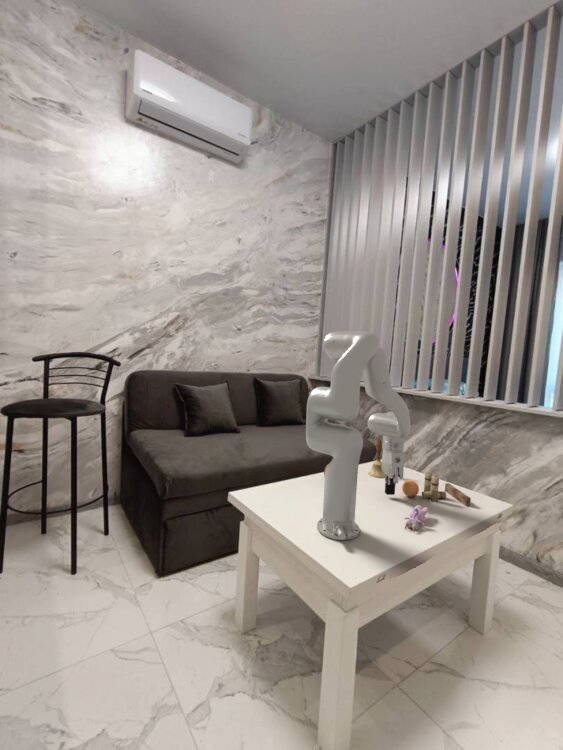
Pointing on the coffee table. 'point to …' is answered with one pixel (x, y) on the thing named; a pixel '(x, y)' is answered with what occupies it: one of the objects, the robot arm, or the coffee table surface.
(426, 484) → the pin
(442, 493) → the front pin
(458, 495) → the bar
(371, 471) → the hand bell
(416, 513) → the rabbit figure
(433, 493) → the pin
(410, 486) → the ball
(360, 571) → the coffee table surface
